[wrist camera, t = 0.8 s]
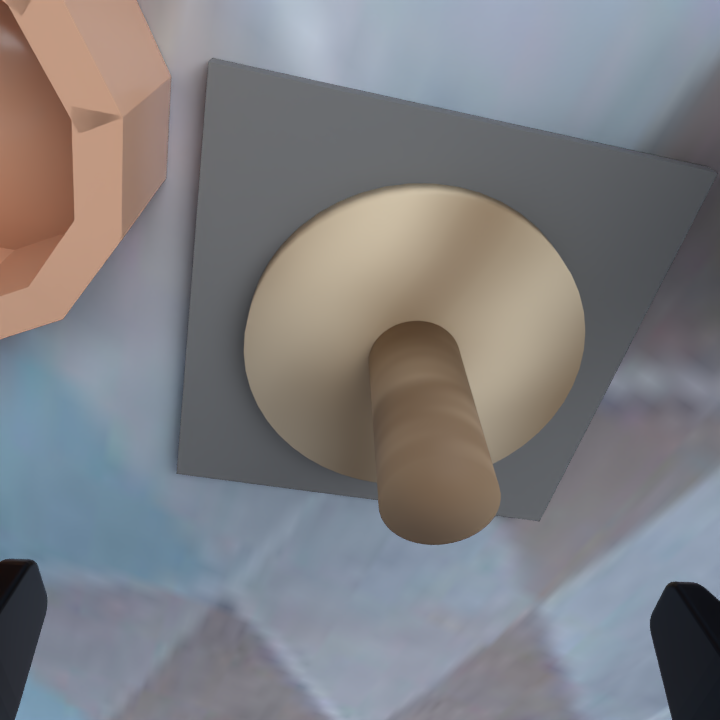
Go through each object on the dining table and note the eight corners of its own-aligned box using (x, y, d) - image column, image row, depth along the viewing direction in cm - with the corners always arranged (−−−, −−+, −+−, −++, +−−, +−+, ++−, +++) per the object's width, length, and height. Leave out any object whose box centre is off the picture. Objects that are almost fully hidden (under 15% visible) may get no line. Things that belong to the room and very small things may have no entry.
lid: (630, 221, 19) (764, 350, 13) (511, 482, 24) (566, 656, 18) (271, 148, 17) (235, 256, 11) (231, 443, 23) (194, 617, 17)
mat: (707, 166, 18) (718, 173, 18) (535, 510, 26) (539, 521, 25) (212, 58, 17) (208, 61, 16) (179, 462, 24) (176, 473, 23)
